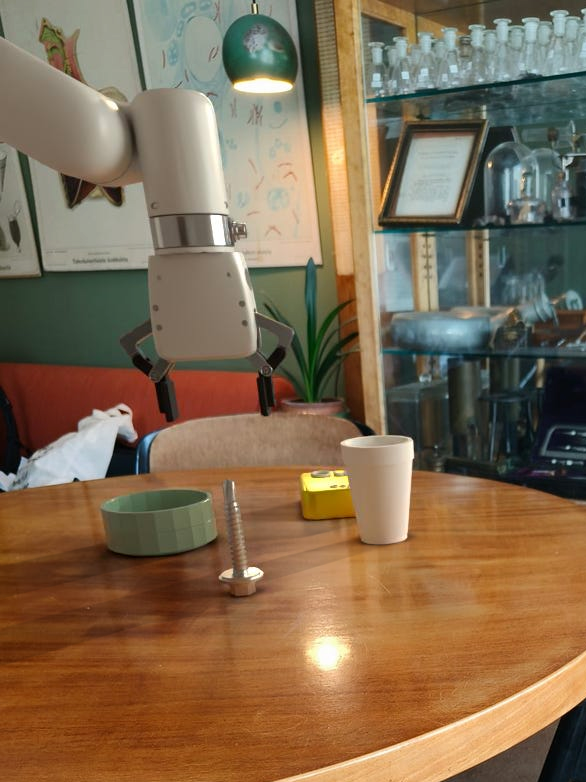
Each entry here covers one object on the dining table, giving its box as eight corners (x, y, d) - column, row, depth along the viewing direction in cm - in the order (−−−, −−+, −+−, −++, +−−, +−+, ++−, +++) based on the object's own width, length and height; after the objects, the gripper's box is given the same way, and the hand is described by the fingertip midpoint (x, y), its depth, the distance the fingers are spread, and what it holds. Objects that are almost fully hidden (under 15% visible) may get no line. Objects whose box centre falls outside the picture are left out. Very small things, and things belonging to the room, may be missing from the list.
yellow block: (303, 521, 130) (299, 489, 128) (301, 499, 143) (298, 470, 141) (404, 513, 132) (402, 481, 130) (393, 492, 146) (391, 463, 144)
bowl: (95, 561, 114) (86, 515, 111) (124, 533, 127) (116, 491, 124) (207, 554, 115) (200, 509, 113) (225, 527, 128) (219, 486, 126)
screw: (212, 597, 99) (238, 584, 103) (248, 601, 97) (273, 587, 101) (194, 482, 94) (222, 473, 98) (232, 484, 92) (259, 475, 96)
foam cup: (360, 551, 114) (351, 450, 109) (340, 534, 122) (331, 439, 117) (428, 541, 118) (423, 442, 113) (405, 525, 125) (399, 433, 121)
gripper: (286, 236, 90) (306, 408, 97) (112, 244, 89) (144, 418, 95) (278, 232, 83) (300, 417, 90) (89, 240, 82) (125, 428, 88)
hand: (220, 417), depth 92 cm, fingers open, 9 cm apart
